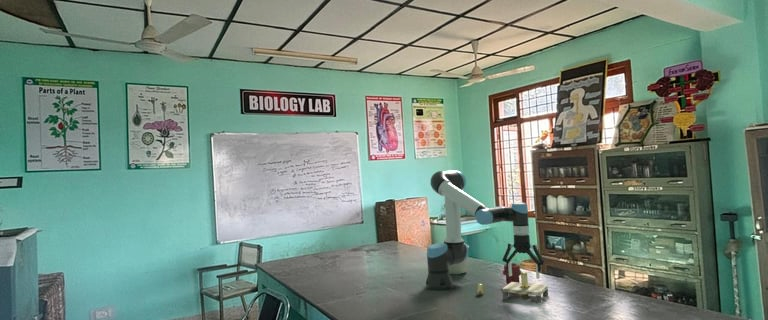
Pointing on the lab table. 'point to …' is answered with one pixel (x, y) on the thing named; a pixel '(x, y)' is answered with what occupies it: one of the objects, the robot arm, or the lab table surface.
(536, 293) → the stand
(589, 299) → the lab table surface
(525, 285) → the long pin
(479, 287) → the short pin
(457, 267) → the canister
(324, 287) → the lab table surface
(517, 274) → the mechanical component
